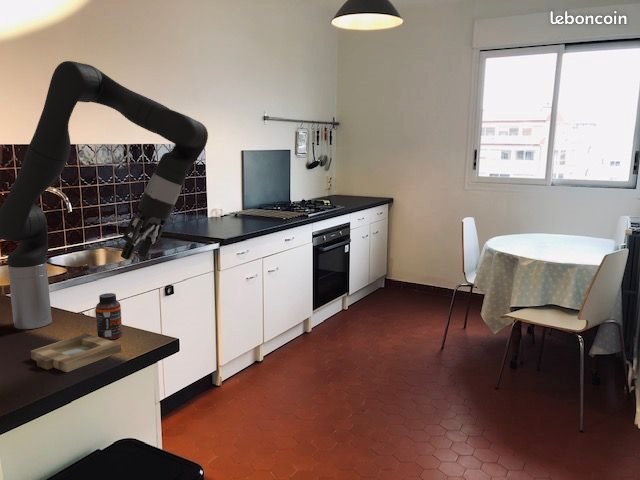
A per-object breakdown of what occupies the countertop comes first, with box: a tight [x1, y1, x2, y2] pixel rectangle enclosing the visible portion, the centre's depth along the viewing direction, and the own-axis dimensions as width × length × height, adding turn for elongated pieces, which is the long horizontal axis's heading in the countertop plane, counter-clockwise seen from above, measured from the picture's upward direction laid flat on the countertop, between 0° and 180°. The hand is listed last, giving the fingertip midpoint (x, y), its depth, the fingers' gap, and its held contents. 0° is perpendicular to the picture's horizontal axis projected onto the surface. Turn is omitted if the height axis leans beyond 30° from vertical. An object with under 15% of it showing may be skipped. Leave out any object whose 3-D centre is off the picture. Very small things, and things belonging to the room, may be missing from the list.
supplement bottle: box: [95, 292, 123, 341], centre depth 135 cm, size 6×6×11 cm
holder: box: [30, 332, 122, 373], centre depth 123 cm, size 14×16×2 cm
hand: (133, 256), depth 126 cm, fingers open, 8 cm apart
